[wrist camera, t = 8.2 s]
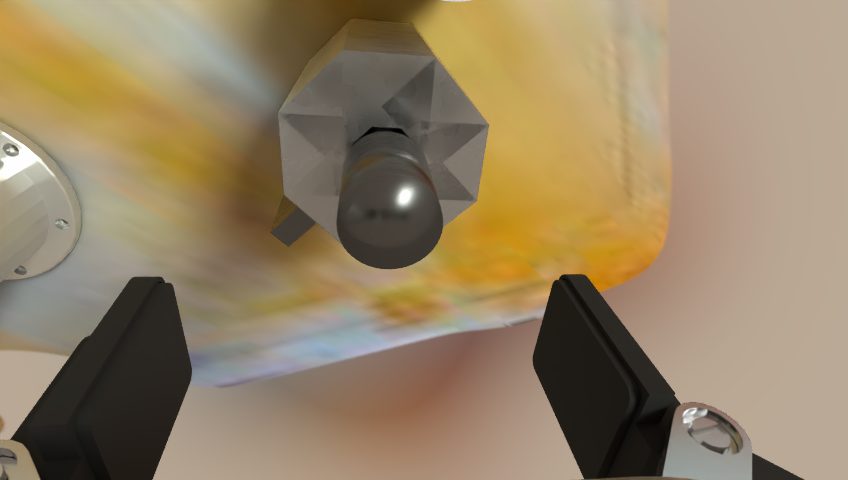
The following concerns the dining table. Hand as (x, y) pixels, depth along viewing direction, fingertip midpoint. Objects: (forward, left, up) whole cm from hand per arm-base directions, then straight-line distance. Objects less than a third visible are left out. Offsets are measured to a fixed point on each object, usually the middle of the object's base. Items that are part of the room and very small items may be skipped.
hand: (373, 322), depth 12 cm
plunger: (+1, 0, -22) cm, 22 cm away
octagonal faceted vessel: (-1, 0, -23) cm, 23 cm away
